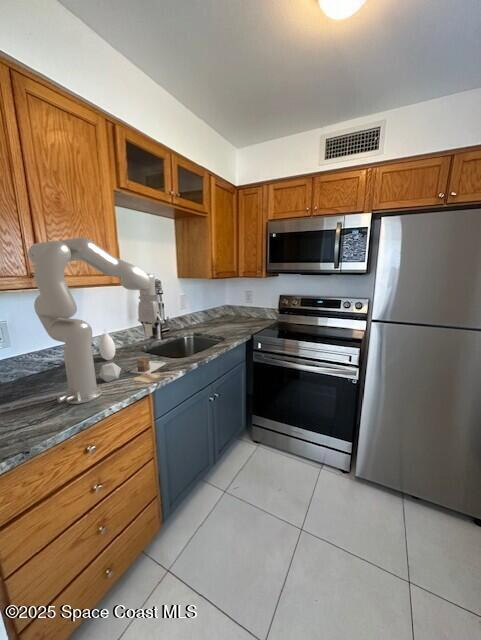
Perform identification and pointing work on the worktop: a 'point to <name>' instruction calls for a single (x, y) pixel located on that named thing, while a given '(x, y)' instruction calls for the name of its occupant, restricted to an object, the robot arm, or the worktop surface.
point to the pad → (146, 377)
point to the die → (109, 372)
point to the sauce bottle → (107, 347)
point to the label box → (148, 329)
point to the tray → (153, 366)
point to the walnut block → (143, 364)
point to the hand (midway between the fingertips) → (151, 334)
